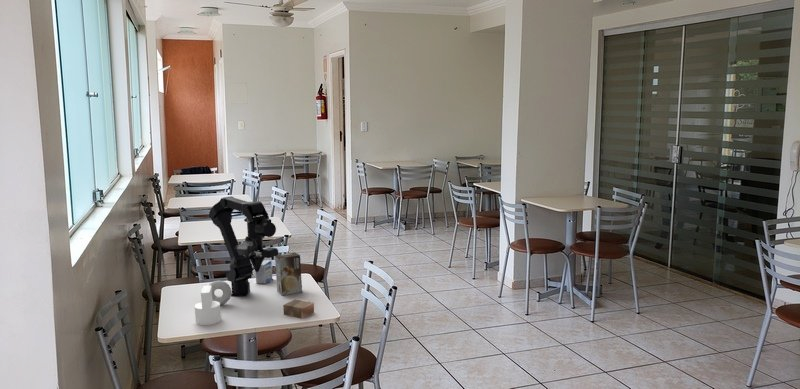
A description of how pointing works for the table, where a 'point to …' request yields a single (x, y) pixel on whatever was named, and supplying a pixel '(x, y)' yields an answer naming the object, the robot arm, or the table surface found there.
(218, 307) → the base with upright slab
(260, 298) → the table surface
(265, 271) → the medicine box
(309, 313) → the walnut block
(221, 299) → the donut
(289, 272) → the coffee box
